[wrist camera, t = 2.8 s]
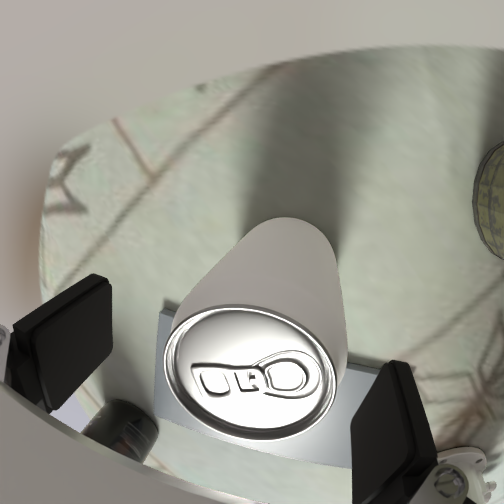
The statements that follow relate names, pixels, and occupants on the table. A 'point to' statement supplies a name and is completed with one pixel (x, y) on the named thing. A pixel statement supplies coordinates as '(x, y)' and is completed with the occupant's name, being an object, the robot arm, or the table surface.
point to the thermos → (490, 200)
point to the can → (262, 336)
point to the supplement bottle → (123, 430)
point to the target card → (298, 447)
